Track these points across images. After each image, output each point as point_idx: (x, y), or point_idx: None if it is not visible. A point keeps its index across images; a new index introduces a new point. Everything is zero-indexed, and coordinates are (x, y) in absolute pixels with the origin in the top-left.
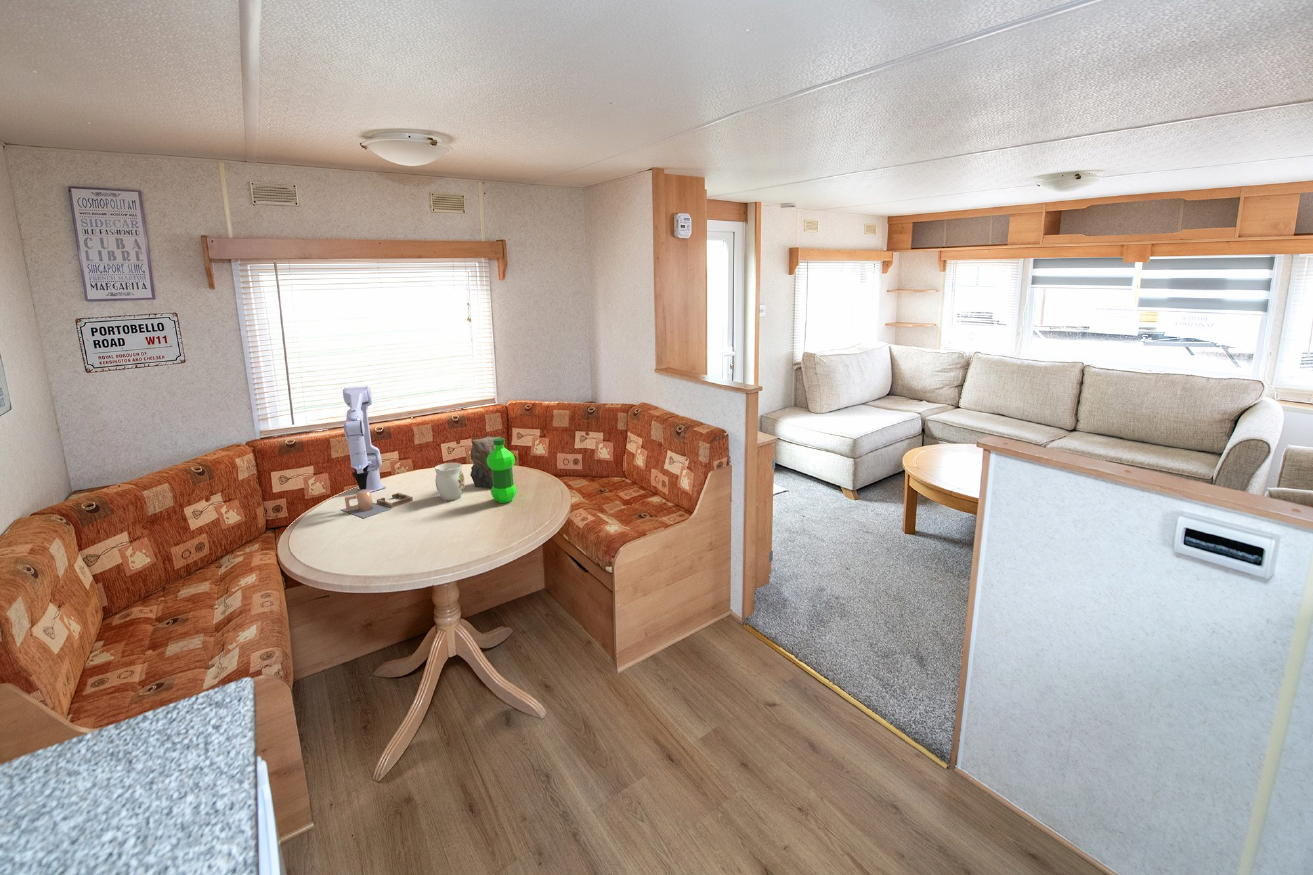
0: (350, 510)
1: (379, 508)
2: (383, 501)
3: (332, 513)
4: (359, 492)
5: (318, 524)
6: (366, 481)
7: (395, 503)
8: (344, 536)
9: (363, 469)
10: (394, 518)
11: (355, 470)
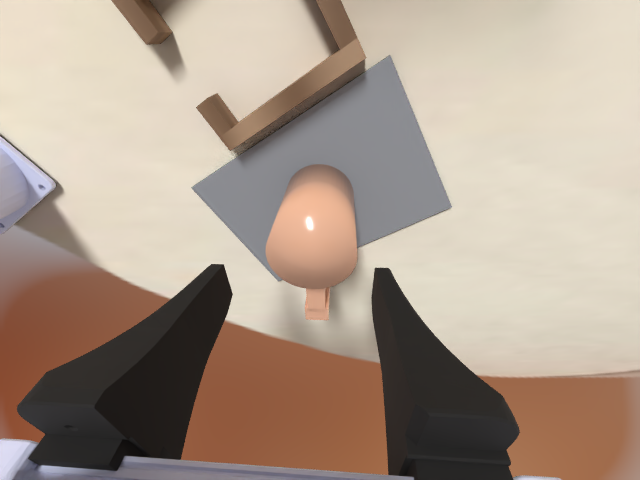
0: None
1: (344, 131)
2: (279, 108)
3: (303, 301)
4: (308, 275)
5: None
6: (418, 315)
7: (346, 14)
8: (621, 271)
9: (158, 384)
10: (608, 29)
11: (184, 423)
